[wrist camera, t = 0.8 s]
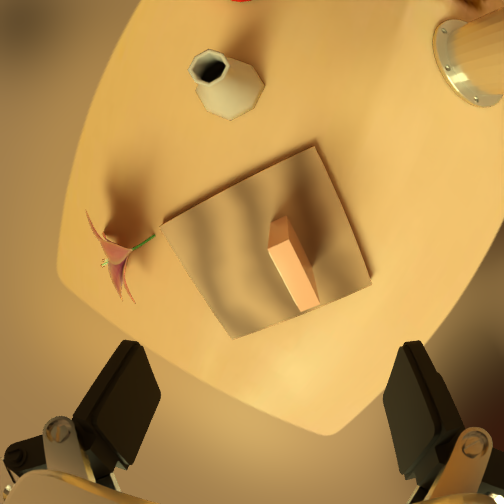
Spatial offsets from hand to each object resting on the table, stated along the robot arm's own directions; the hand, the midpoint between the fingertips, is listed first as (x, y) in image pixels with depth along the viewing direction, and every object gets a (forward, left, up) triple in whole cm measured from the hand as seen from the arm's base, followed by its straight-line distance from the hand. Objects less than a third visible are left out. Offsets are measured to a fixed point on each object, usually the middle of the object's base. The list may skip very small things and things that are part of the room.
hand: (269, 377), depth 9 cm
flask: (-2, -15, -25) cm, 29 cm away
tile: (0, +4, -24) cm, 24 cm away
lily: (+19, -5, -25) cm, 32 cm away
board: (+3, +4, -25) cm, 25 cm away
